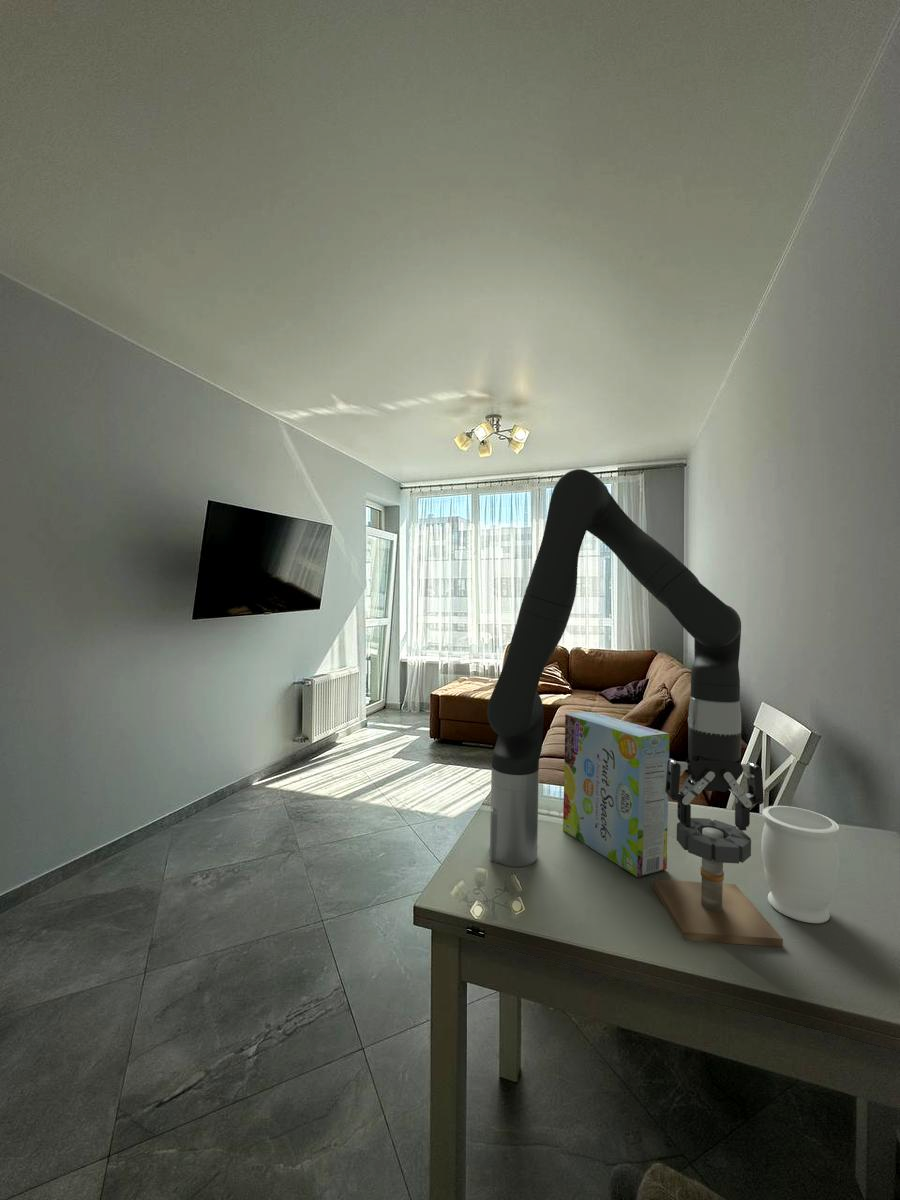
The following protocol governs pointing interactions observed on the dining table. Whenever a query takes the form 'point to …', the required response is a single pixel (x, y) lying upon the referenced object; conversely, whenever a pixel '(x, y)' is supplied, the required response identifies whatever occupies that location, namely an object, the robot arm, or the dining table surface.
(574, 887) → the dining table surface
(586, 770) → the snack box
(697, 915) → the post base
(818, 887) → the jar
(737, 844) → the ring
